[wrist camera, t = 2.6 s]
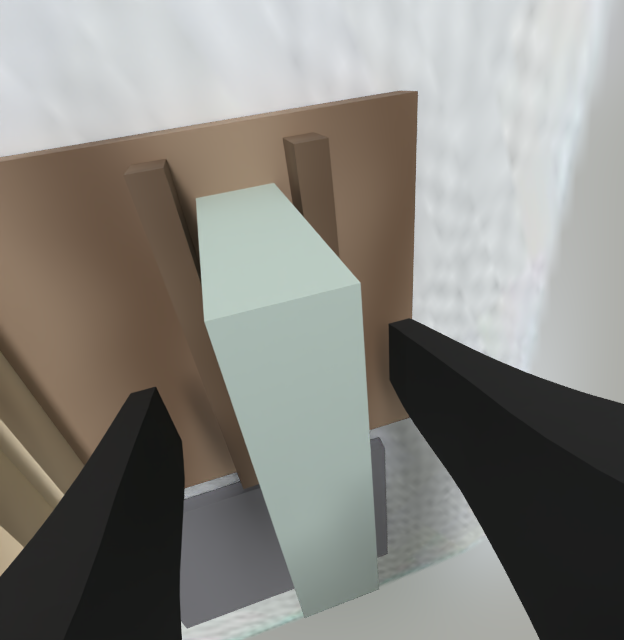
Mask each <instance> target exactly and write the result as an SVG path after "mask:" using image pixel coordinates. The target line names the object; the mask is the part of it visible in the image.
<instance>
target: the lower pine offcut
mask: <svg viewBox="0 0 624 640" xmlns="http://www.w3.org/2000/svg"><path fill="white" fill-rule="evenodd" d="M0 450H1V451H2V452H3V453H4V454H5V455H6V456H7V457H8V458H9V460H10V461H11V462H12V463H13V464H14V465H15V466H16V467H17V468H18V470H19V471H20V472H21V473H22V474H23V475H24V476H25V477H26V478H27V480H28V481H29V482H30V483H31V484H32V485H33V486H34V487H35V488H36V490H37V491H38V492H39V493H40V494H41V495H42V496H43V497H44V498H45V500H46V501H47V502H48V503H49V504H50V505H51V506H52V507H53V508H54V509H55V507H56V506H57V505H58V503H59V502H60V500H61V499H62V497H63V496H64V495H65V493H66V492H67V490H68V489H69V488H70V486H71V485H72V483H73V482H74V481H75V479H76V478H77V476H78V475H79V473H80V472H81V470H82V469H83V467H84V464H83V463H82V462H81V460H80V459H79V458H78V456H77V455H76V453H75V452H74V451H73V449H72V448H71V447H70V445H69V444H68V443H67V441H66V440H65V438H64V437H63V436H62V434H61V433H60V432H59V430H58V429H57V428H56V426H55V425H54V424H53V422H52V421H51V419H50V418H49V417H48V415H47V414H46V413H45V411H44V410H43V409H42V407H41V406H40V404H39V403H38V402H37V400H36V399H35V398H34V396H33V395H32V394H31V392H30V391H29V390H28V388H27V387H26V385H25V384H24V383H23V381H22V380H21V379H20V377H19V376H18V375H17V373H16V372H15V371H14V369H13V368H12V366H11V365H10V364H9V362H8V361H7V360H6V358H5V357H4V356H3V354H2V353H1V351H0Z"/></svg>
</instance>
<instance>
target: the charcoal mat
mask: <svg viewBox="0 0 624 640" xmlns="http://www.w3.org/2000/svg"><path fill="white" fill-rule="evenodd" d="M370 448H371V464H372V481H373V497H374V514H375V530H376V547H377V558H378V557H380V556H383V555H386V554H388V550H387V515H386V480H385V447H384V446H383V444H382V442H381V440H380V438H376V439H373V440H370ZM292 589H294V585H293V582H292V579H291V576H290V573H289V570H288V567H287V564H286V561H285V558H284V555H283V552H282V549H281V546H280V543H279V541H278V538H277V535H276V532H275V529H274V526H273V523H272V520H271V517H270V514H269V511H268V508H267V505H266V502H265V499H264V496H263V493H262V490H261V487H260V485H259V484H258V485H255V486H252V487H249V488H246V489H243V487H242V484H241V482H238V483H235V484H232V485H229V486H226V487H223V488H219V489H216V490H213V491H210V492H207V493H204V494H201V495H198V496H194V497H191V498H188V499H185V500H184V510H183V528H182V547H181V566H180V610H181V621H182V623H183V624H184V625H185V626H186V628H190V627H192V626H195V625H198V624H200V623H203V622H206V621H208V620H211V619H214V618H216V617H219V616H222V615H224V614H227V613H230V612H233V611H235V610H238V609H241V608H243V607H246V606H249V605H251V604H254V603H257V602H259V601H262V600H265V599H267V598H270V597H273V596H276V595H278V594H281V593H284V592H286V591H289V590H292Z"/></svg>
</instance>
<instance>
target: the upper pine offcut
mask: <svg viewBox="0 0 624 640" xmlns="http://www.w3.org/2000/svg"><path fill="white" fill-rule="evenodd" d="M53 510H54V508H53V507H52V506H51V505H50V504H49V503H48V502H47V501H46V500H45V498H44V497H43V496H42V495H41V494H40V493H39V492H38V491H37V490H36V488H35V487H34V486H33V485H32V484H31V483H30V482H29V481H28V480H27V478H26V477H25V476H24V475H23V474H22V473H21V472H20V471H19V470H18V468H17V467H16V466H15V465H14V464H13V463H12V462H11V461H10V460H9V458H8V457H7V456H6V455H5V454H4V453H3V452H2V451H1V450H0V576H1V575H2V574H3V573H4V571H5V570H6V569H7V568H8V567H9V565H10V564H11V563H12V562H13V561H14V559H15V558H16V557H17V556H18V555H19V553H20V552H21V551H22V550H23V548H24V547H25V546H26V545H27V544H28V542H29V541H30V540H31V539H32V537H33V536H34V535H35V534H36V532H37V531H38V530H39V529H40V527H41V526H42V525H43V523H44V522H45V521H46V519H47V518H48V517H49V516H50V514H51V513H52V512H53Z"/></svg>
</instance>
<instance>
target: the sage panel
mask: <svg viewBox="0 0 624 640" xmlns="http://www.w3.org/2000/svg"><path fill="white" fill-rule="evenodd" d="M196 209H197V223H198V238H199V252H200V267H201V281H202V296H203V310H204V322H205V325H206V328H207V331H208V334H209V337H210V340H211V343H212V346H213V349H214V352H215V355H216V358H217V361H218V364H219V367H220V369H221V372H222V375H223V378H224V381H225V384H226V387H227V390H228V393H229V396H230V399H231V402H232V405H233V408H234V411H235V414H236V417H237V420H238V423H239V426H240V428H241V431H242V434H243V437H244V440H245V443H246V446H247V449H248V452H249V455H250V458H251V461H252V464H253V467H254V470H255V473H256V476H257V479H258V482H259V485H260V487H261V490H262V493H263V496H264V499H265V502H266V505H267V508H268V511H269V514H270V517H271V520H272V523H273V526H274V529H275V532H276V535H277V538H278V541H279V543H280V546H281V549H282V552H283V555H284V558H285V561H286V564H287V567H288V570H289V573H290V576H291V579H292V582H293V585H294V588H295V591H296V594H297V597H298V600H299V602H300V605H301V608H302V611H303V614H304V617H305V618H306V617H309V616H311V615H314V614H316V613H319V612H322V611H324V610H327V609H329V608H332V607H334V606H337V605H340V604H342V603H345V602H347V601H350V600H353V599H355V598H358V597H360V596H363V595H366V594H368V593H371V592H373V591H376V590H378V589H379V580H378V563H377V547H376V530H375V514H374V497H373V481H372V464H371V448H370V431H369V415H368V398H367V382H366V365H365V349H364V332H363V316H362V299H361V283H360V282H359V281H358V279H357V278H356V277H355V276H354V275H353V274H352V272H351V271H350V270H349V269H348V268H347V267H346V266H345V264H344V263H343V262H342V261H341V260H340V259H339V257H338V256H337V255H336V254H335V253H334V252H333V250H332V249H331V248H330V247H329V246H328V245H327V244H326V242H325V241H324V240H323V239H322V238H321V237H320V235H319V234H318V233H317V232H316V231H315V230H314V229H313V227H312V226H311V225H310V224H309V223H308V222H307V220H306V219H305V218H304V217H303V216H302V215H301V214H300V212H299V211H298V210H297V209H296V208H295V207H294V205H293V204H292V203H291V202H290V201H289V200H288V198H287V197H286V196H285V195H284V194H283V193H282V192H281V190H280V189H279V188H278V187H277V186H276V185H275V183H271V184H266V185H260V186H255V187H250V188H245V189H240V190H235V191H230V192H225V193H220V194H215V195H210V196H205V197H200V198H196Z"/></svg>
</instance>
